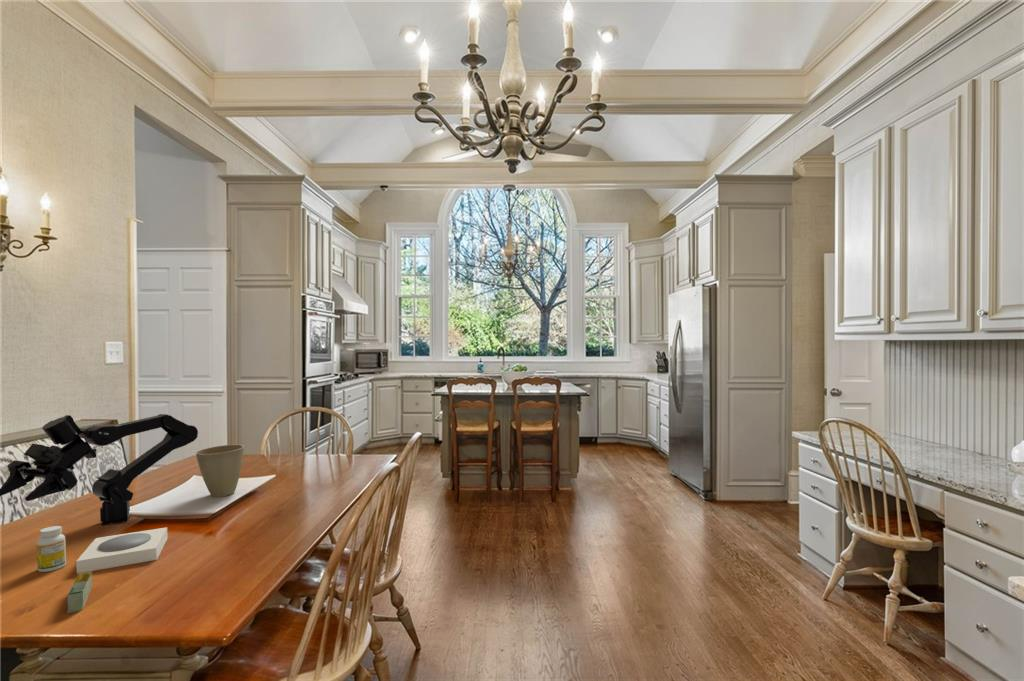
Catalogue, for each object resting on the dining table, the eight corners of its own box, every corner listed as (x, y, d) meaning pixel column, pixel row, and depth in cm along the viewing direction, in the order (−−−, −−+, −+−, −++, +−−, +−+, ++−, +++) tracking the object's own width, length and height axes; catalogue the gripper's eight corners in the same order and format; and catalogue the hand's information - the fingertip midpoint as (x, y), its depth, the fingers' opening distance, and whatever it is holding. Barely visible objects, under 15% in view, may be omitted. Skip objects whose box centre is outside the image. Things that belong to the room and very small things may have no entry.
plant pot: (253, 492, 188) (249, 447, 188) (206, 503, 178) (203, 456, 177) (238, 484, 199) (235, 442, 198) (193, 495, 188) (190, 450, 188)
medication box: (83, 611, 109) (83, 591, 109) (66, 614, 108) (66, 595, 108) (92, 587, 119) (92, 570, 119) (77, 590, 118) (77, 572, 118)
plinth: (167, 538, 147) (167, 525, 147) (156, 559, 133) (156, 546, 133) (96, 549, 141) (95, 536, 141) (76, 573, 126) (76, 559, 126)
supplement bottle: (61, 569, 129) (60, 530, 128) (33, 574, 126) (31, 534, 126) (70, 561, 134) (68, 523, 133) (43, 565, 131) (41, 526, 131)
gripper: (26, 431, 149) (-33, 469, 136) (81, 439, 146) (25, 479, 133) (45, 461, 155) (-11, 501, 142) (98, 469, 151) (46, 511, 138)
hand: (11, 497), depth 138 cm, fingers open, 9 cm apart
